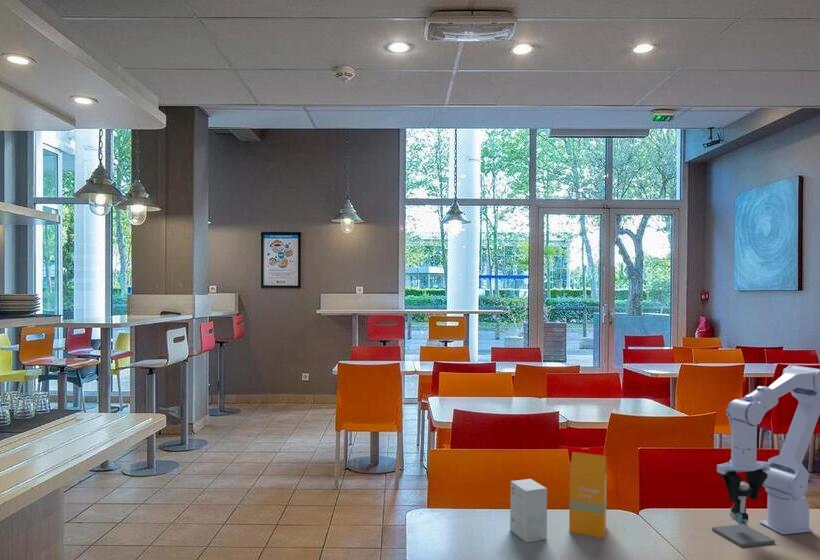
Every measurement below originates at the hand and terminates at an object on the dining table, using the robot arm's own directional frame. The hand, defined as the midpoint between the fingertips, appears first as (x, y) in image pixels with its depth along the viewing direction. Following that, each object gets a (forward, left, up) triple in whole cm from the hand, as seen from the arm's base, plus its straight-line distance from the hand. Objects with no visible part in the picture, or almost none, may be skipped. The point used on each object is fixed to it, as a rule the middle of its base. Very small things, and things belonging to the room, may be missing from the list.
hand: (743, 499), depth 154 cm
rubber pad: (0, 0, -10) cm, 10 cm away
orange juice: (+37, -13, -10) cm, 40 cm away
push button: (0, -1, -6) cm, 6 cm away
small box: (+54, -13, -10) cm, 56 cm away
